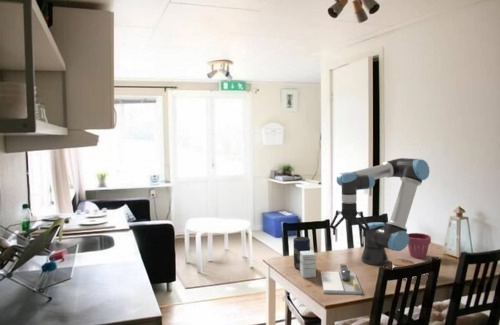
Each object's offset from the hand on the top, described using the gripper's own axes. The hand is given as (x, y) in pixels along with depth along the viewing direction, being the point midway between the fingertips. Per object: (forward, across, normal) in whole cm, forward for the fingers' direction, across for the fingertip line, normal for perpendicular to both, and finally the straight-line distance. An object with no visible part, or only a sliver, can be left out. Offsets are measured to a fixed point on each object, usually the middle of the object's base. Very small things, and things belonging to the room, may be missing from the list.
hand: (349, 242), depth 210 cm
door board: (+19, +4, +9) cm, 22 cm away
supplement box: (+20, +22, +2) cm, 29 cm away
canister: (+20, +28, -10) cm, 35 cm away
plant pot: (+20, -36, -49) cm, 64 cm away
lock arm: (+17, +2, +4) cm, 18 cm away
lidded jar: (+20, -27, -10) cm, 35 cm away
